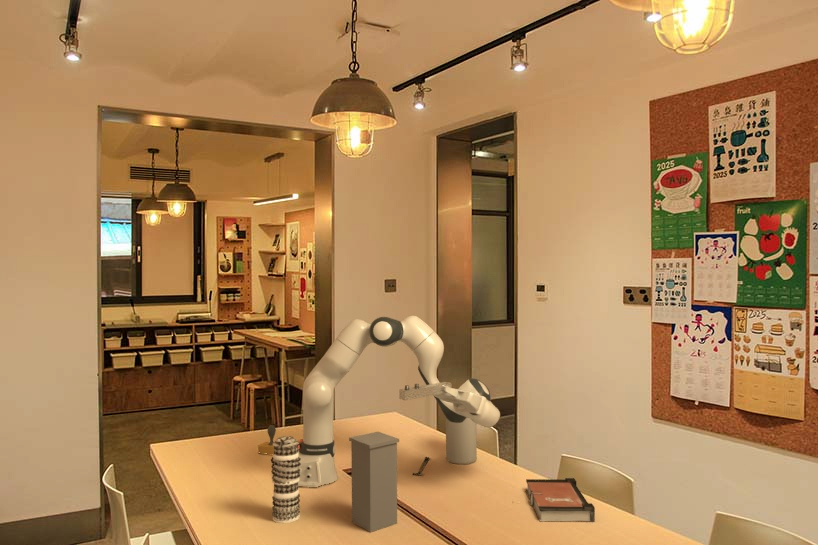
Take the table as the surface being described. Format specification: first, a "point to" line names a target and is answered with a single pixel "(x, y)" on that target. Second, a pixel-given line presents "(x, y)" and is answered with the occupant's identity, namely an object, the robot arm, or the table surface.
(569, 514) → the book
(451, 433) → the cylinder vase
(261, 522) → the table surface
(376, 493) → the pedestal
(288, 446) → the decorative candle
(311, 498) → the table surface
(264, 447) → the rubber stamp
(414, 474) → the tomahawk
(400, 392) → the brown wooden bar
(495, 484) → the table surface
